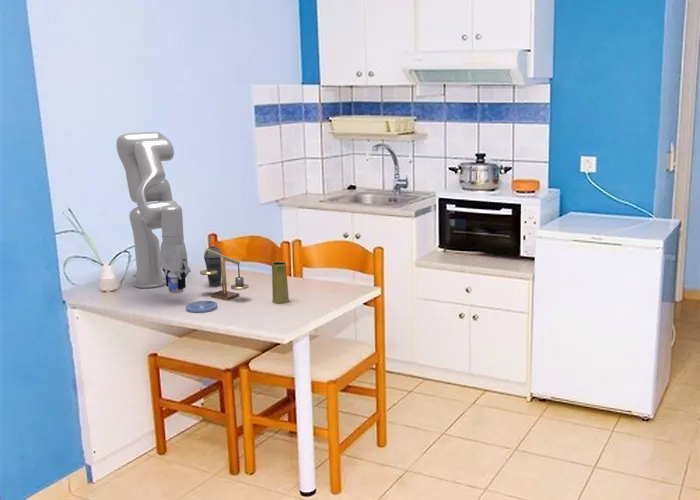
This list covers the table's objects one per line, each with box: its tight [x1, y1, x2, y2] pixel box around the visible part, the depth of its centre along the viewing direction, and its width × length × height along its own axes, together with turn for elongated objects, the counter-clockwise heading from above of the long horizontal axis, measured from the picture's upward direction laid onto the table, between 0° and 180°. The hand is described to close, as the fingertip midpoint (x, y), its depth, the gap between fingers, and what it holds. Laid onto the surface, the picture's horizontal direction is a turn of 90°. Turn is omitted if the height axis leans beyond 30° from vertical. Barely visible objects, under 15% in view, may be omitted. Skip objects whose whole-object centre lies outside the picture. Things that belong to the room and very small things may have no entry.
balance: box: [199, 248, 249, 301], centre depth 285 cm, size 22×6×18 cm, turn 55°
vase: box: [271, 261, 290, 304], centre depth 278 cm, size 6×6×14 cm
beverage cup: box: [203, 235, 223, 288], centre depth 301 cm, size 7×7×20 cm
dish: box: [185, 300, 218, 314], centre depth 273 cm, size 11×11×1 cm
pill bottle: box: [168, 271, 185, 295], centre depth 280 cm, size 5×5×10 cm
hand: (176, 286), depth 281 cm, fingers closed on pill bottle, 5 cm apart
